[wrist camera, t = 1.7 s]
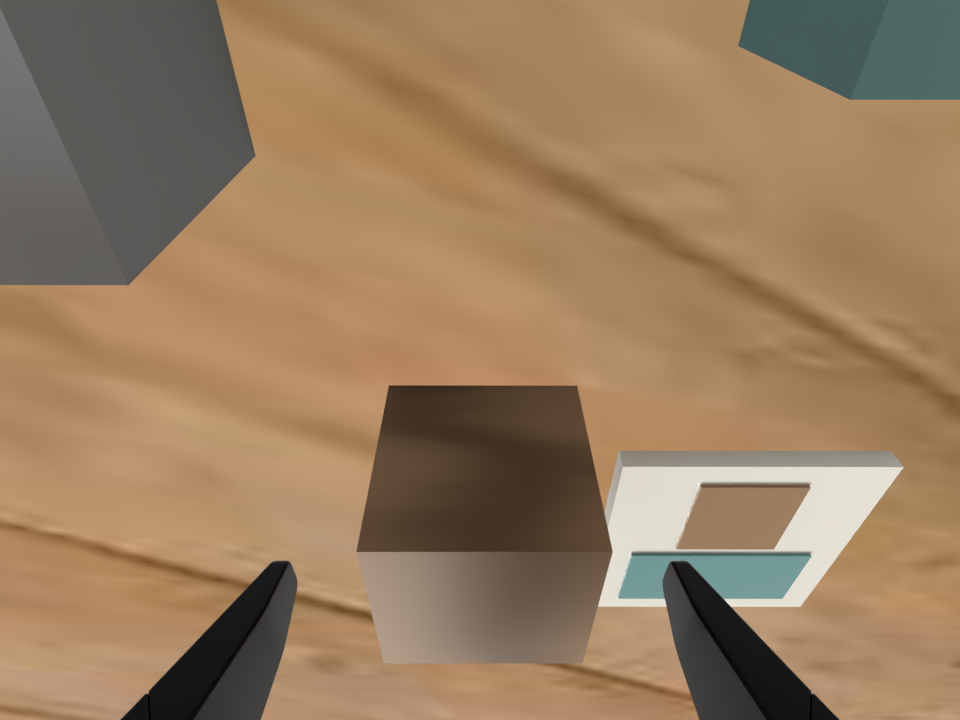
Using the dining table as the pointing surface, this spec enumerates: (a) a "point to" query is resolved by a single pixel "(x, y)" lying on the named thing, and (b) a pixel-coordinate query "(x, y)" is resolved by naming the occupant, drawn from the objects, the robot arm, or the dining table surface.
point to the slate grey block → (110, 133)
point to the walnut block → (483, 526)
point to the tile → (737, 520)
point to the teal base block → (862, 45)
